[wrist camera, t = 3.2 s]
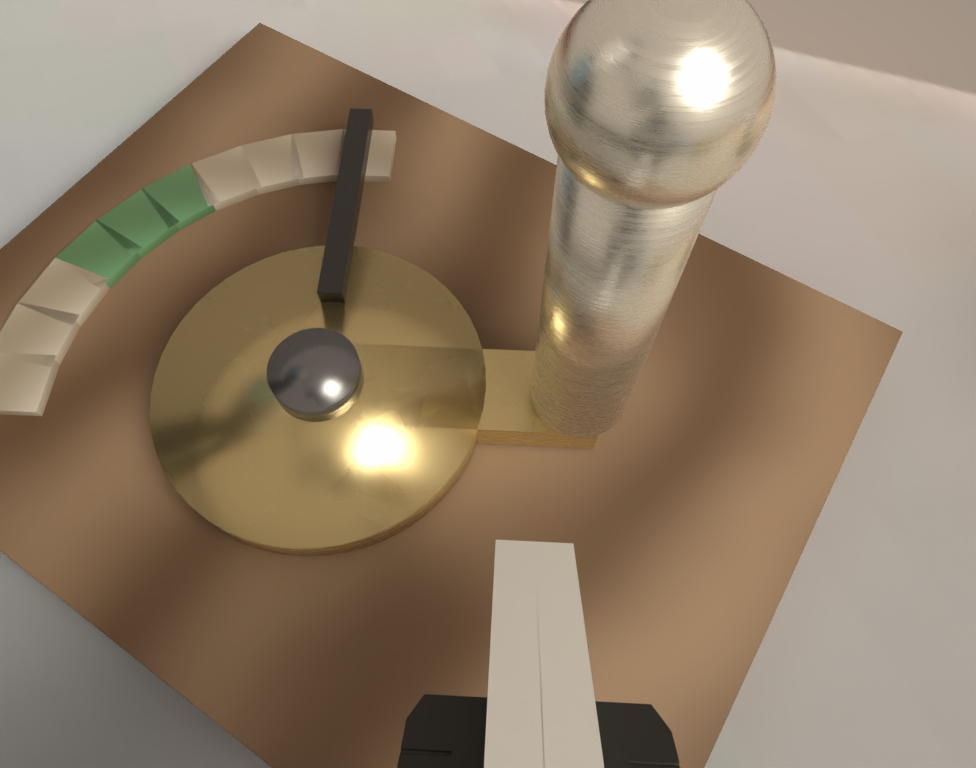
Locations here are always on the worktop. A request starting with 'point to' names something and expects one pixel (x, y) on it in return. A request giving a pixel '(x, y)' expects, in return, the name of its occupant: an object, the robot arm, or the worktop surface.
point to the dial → (441, 318)
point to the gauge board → (486, 480)
